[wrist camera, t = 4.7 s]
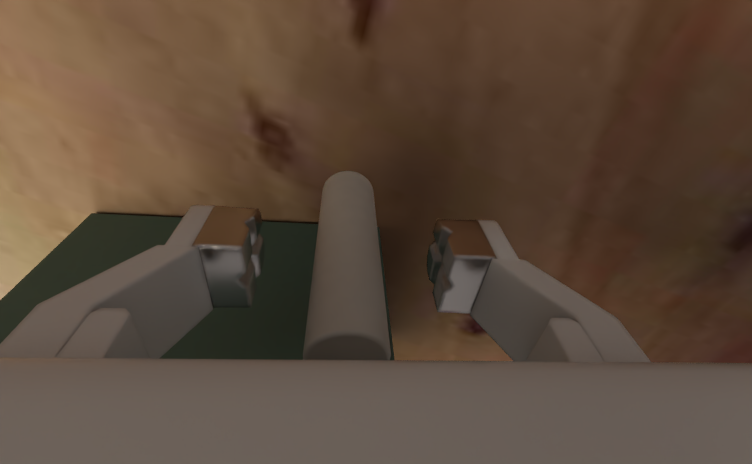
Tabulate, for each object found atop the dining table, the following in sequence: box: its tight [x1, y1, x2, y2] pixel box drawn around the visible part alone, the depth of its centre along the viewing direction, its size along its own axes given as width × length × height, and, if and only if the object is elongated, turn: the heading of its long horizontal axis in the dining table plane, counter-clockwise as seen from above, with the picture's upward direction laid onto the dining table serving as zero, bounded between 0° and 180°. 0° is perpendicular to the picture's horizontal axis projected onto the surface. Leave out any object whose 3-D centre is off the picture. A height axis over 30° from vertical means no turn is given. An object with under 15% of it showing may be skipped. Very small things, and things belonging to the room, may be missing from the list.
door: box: [0, 171, 394, 360], centre depth 10 cm, size 7×15×16 cm, turn 84°
